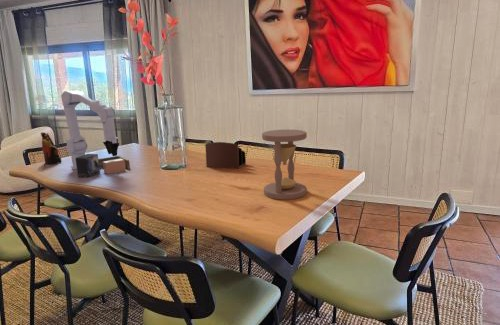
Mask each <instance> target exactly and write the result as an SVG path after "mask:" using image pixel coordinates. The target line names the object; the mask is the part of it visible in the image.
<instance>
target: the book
mask: <svg viewBox="0 0 500 325" xmlns="http://www.w3.org/2000/svg"><path fill="white" fill-rule="evenodd" d="M102 168H103V172H104V173H105V174H106V173H109V174H113V173H112V172H114V173H119V172H124V171H126V168H125V162H124V160H123V159H116V160H110V161H104V162H103V167H102Z"/></svg>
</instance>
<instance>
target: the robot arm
mask: <svg viewBox="0 0 500 325" xmlns="http://www.w3.org/2000/svg"><path fill="white" fill-rule="evenodd" d="M60 98H61V102H62V106H63V110H64V114H65V119H66V123H67V124H66V125H67V127H68V128H67V129H68V133H69V137H68V138H67V140H66V141H65V142H66V150H67V152H68V153H69V154H70V155H71V158H70V159H71V163H72V165H71V166H70V167H71V168H72V169H73V170H75V171H77V166H76V159H75V158H76V157H80V156H83V155H86V152H87V149H88V143H87V142H86V138H85V137H84V136H82V135H81V132H80V127H79V122H78V118H77V113H76V107H77V106H78V105H79V104H81V103H83V104H84V105H86V106H89V109H90V110H91V111H93V113H96V114H97V115H98V117H99V118H100V122H101V123H102V129H103V137H104V141H102V143H103V146H105V149H106V151H107V154H108V155H112V156H111V157H114V156H118V150H119V146H120V142H118V141H117V140H118V139H119V137H118V136H116V129H115V122H114V120H115V119H114V118H115V115H116V111H115V109H114V107H112V106H107V105H106V104H103V103H102V102H100V100H93V99H91V98H90V97H88V95H86V94H85V92H84V91H81V90H64V91H63V92H62V93H61V95H60Z"/></svg>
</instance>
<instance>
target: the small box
mask: <svg viewBox="0 0 500 325" xmlns="http://www.w3.org/2000/svg"><path fill="white" fill-rule="evenodd" d="M75 159H76V166H77V169H76V171H77V177H78V178H89V177H92V176H94V175H96V174H100V173H101V169H100V168H99V161H98V159H99V154H98V153H85V155H83V156H80V157H76V158H75ZM99 172H100V173H99Z"/></svg>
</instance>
